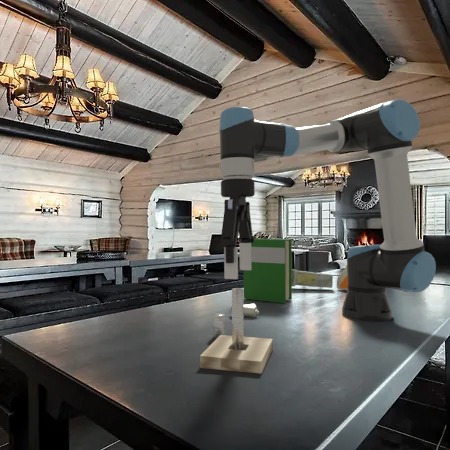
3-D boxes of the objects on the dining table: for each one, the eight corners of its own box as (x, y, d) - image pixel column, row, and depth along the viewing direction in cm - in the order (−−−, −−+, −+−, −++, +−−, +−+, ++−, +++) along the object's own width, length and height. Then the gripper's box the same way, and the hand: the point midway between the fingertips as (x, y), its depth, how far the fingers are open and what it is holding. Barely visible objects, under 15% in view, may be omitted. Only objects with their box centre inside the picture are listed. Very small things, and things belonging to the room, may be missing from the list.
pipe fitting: (261, 318, 122) (252, 313, 128) (261, 306, 122) (252, 302, 128) (239, 320, 118) (230, 315, 125) (239, 308, 118) (230, 303, 125)
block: (332, 287, 174) (332, 270, 175) (332, 288, 166) (332, 270, 167) (291, 285, 179) (291, 269, 180) (289, 286, 171) (290, 269, 172)
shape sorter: (353, 292, 163) (352, 251, 162) (336, 288, 172) (335, 250, 172) (385, 288, 171) (385, 250, 171) (367, 285, 181) (367, 248, 181)
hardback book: (291, 299, 149) (291, 239, 149) (285, 303, 143) (284, 240, 142) (251, 295, 158) (251, 238, 158) (243, 298, 151) (243, 239, 151)
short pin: (226, 336, 102) (226, 314, 102) (223, 339, 99) (223, 316, 99) (215, 335, 103) (215, 313, 103) (212, 338, 100) (212, 316, 100)
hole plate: (272, 351, 90) (272, 338, 90) (261, 376, 75) (261, 361, 75) (220, 346, 93) (220, 334, 93) (200, 370, 79) (200, 355, 79)
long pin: (245, 358, 85) (244, 288, 85) (242, 362, 83) (241, 290, 82) (234, 357, 86) (233, 287, 86) (231, 361, 83) (230, 289, 83)
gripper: (235, 184, 97) (236, 266, 97) (203, 173, 73) (205, 282, 73) (263, 183, 95) (265, 267, 95) (241, 171, 71) (242, 283, 71)
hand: (239, 274), depth 84 cm, fingers open, 13 cm apart
